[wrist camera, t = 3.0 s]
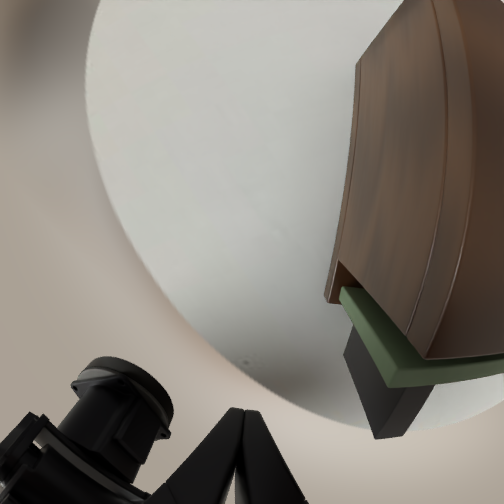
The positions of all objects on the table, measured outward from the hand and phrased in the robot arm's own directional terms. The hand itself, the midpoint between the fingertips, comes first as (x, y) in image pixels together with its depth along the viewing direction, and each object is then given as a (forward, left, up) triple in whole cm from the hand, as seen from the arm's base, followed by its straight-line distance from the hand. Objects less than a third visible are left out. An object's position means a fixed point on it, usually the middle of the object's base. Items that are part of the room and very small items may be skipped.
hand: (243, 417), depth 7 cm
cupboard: (+14, 0, -7) cm, 16 cm away
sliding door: (+7, -3, -6) cm, 10 cm away
